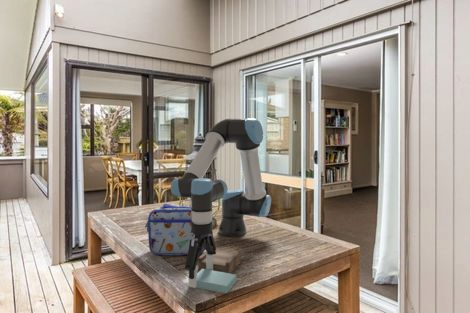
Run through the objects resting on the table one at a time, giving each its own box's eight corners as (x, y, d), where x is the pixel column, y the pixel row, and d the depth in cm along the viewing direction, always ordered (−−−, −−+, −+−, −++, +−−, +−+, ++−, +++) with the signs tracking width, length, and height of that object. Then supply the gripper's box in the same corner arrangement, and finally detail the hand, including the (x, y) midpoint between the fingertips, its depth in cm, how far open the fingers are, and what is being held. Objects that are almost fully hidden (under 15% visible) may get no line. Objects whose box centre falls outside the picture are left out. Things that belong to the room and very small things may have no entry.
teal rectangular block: (236, 282, 118) (236, 274, 118) (226, 294, 109) (226, 286, 109) (202, 276, 123) (202, 268, 123) (190, 287, 114) (190, 278, 114)
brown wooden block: (213, 257, 141) (213, 246, 140) (241, 262, 136) (241, 250, 136) (198, 270, 128) (198, 257, 127) (228, 275, 123) (228, 262, 123)
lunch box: (143, 257, 140) (143, 207, 139) (149, 248, 151) (148, 202, 149) (206, 257, 141) (207, 207, 140) (208, 248, 152) (208, 202, 150)
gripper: (207, 212, 130) (207, 263, 131) (174, 230, 106) (174, 292, 108) (224, 214, 127) (224, 266, 129) (194, 232, 104) (194, 296, 105)
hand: (201, 278), depth 118 cm, fingers open, 13 cm apart
